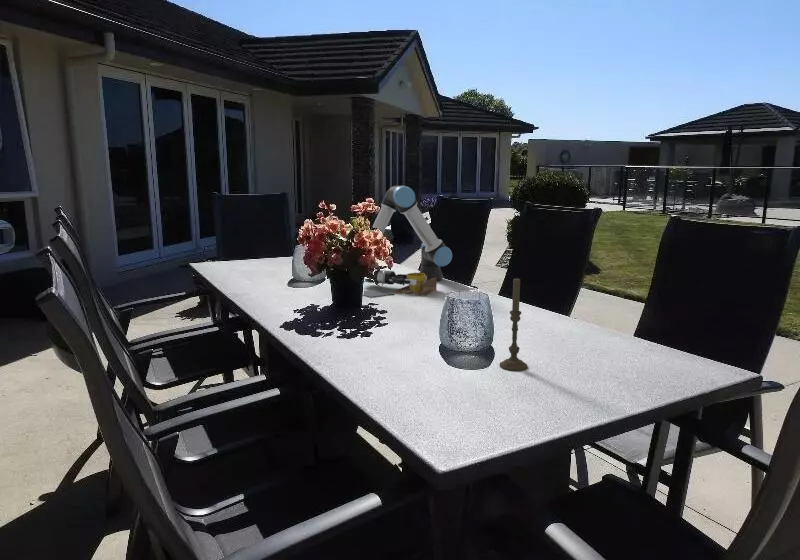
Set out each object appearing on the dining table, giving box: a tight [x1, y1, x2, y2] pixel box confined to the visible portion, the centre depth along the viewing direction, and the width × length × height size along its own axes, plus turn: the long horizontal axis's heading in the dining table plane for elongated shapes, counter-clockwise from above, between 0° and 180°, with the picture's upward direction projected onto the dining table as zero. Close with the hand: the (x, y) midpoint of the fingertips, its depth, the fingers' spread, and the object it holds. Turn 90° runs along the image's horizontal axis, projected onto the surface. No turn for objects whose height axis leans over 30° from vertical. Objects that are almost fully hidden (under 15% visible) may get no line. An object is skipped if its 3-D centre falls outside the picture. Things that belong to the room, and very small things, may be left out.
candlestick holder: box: [499, 278, 529, 372], centre depth 180 cm, size 9×9×30 cm
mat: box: [363, 288, 395, 299], centre depth 300 cm, size 15×15×1 cm
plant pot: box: [406, 272, 425, 292], centre depth 305 cm, size 10×10×10 cm
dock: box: [395, 278, 437, 296], centre depth 305 cm, size 17×17×7 cm
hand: (421, 280), depth 303 cm, fingers open, 13 cm apart
